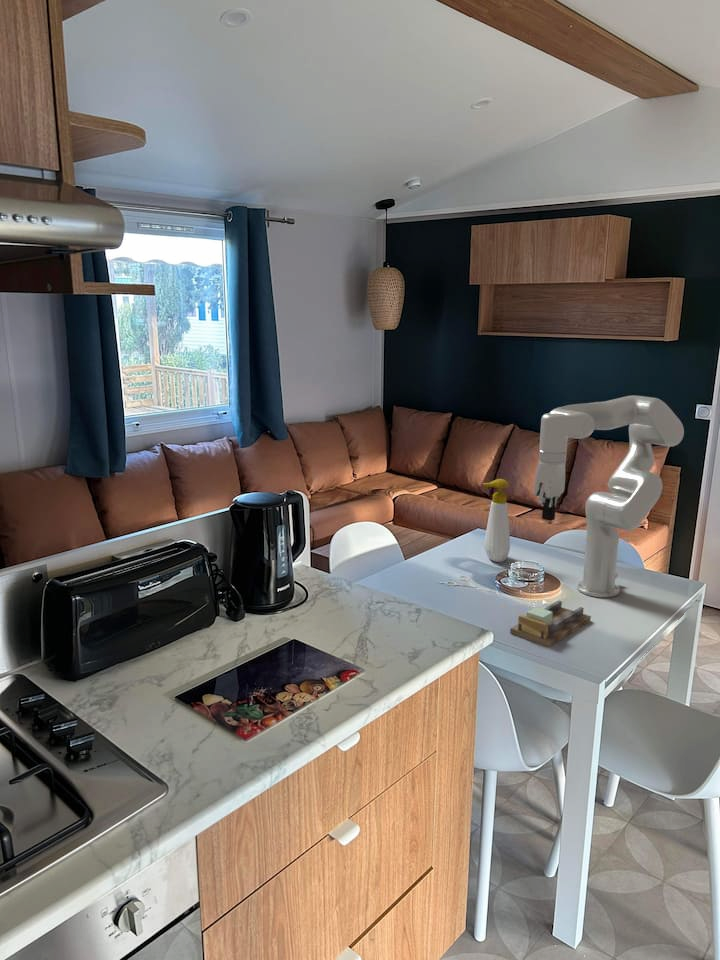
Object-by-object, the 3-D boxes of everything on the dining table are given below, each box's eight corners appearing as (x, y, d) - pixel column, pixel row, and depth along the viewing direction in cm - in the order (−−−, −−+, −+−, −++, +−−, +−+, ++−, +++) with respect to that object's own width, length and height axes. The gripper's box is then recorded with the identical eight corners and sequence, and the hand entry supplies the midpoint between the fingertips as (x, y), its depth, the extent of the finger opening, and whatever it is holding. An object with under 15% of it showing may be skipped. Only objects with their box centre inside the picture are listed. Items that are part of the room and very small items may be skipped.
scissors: (458, 574, 245) (509, 589, 232) (458, 576, 246) (509, 592, 232) (438, 582, 238) (489, 599, 224) (438, 584, 238) (489, 601, 224)
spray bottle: (474, 553, 266) (477, 475, 260) (502, 552, 268) (506, 474, 261) (484, 566, 254) (488, 483, 247) (513, 565, 255) (518, 483, 248)
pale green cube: (535, 623, 204) (536, 606, 203) (551, 629, 201) (552, 611, 199) (525, 629, 200) (526, 612, 199) (542, 634, 197) (543, 617, 196)
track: (552, 609, 218) (553, 591, 217) (590, 621, 210) (591, 602, 209) (510, 633, 202) (511, 614, 200) (549, 647, 194) (551, 627, 192)
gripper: (553, 451, 217) (549, 511, 221) (527, 459, 206) (523, 522, 211) (577, 455, 212) (572, 516, 216) (551, 462, 201) (546, 527, 206)
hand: (548, 519), depth 213 cm, fingers closed
